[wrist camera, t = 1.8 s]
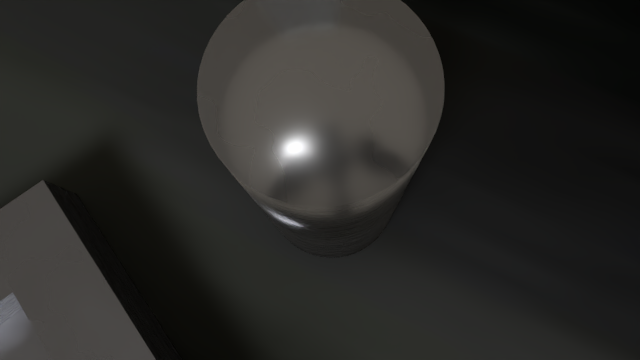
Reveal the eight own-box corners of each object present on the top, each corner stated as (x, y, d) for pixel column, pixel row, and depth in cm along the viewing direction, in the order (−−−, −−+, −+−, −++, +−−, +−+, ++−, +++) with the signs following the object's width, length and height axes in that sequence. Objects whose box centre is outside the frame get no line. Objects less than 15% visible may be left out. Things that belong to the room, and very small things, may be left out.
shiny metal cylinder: (419, 207, 21) (496, 107, 11) (317, 283, 21) (291, 259, 10) (344, 112, 22) (344, -69, 12) (245, 182, 22) (150, 62, 11)
